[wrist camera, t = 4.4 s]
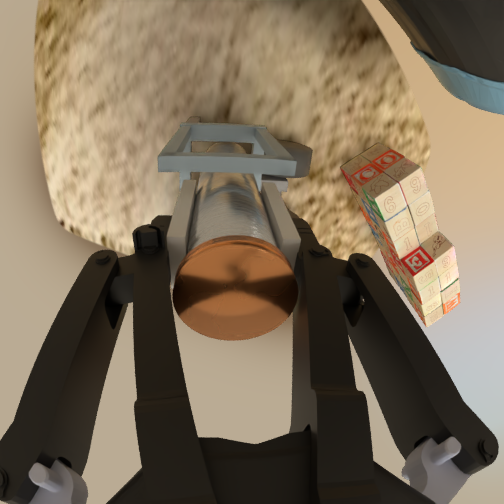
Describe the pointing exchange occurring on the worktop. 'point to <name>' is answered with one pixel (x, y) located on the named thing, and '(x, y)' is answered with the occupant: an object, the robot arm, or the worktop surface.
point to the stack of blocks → (406, 229)
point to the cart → (235, 154)
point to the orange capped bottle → (232, 261)
